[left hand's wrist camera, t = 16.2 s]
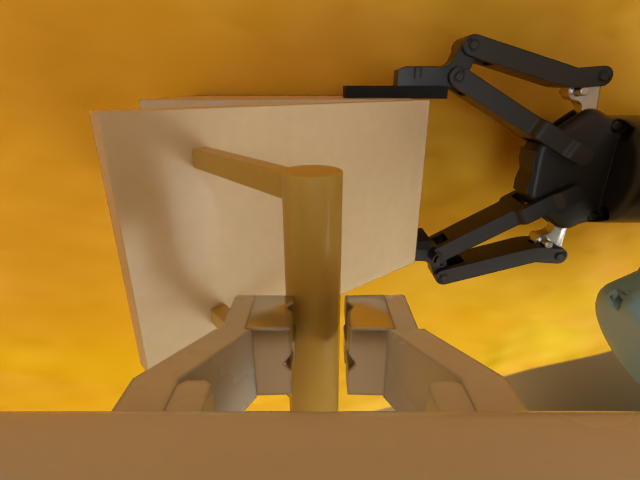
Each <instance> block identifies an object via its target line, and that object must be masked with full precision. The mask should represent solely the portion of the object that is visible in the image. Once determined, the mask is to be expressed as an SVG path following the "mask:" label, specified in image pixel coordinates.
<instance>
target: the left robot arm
mask: <svg viewBox="0 0 640 480" xmlns="http://www.w3.org/2000/svg"><path fill="white" fill-rule="evenodd" d="M295 314H296V305H295V296H287V295H236V296H235V297H234V300H233V302H232V305H231V307H230V310H229V312H228V314H227V317H226V319H225V322H224V324H223V327H222V329H215V330H213V331H212V332H210V333H208V334H207V335H205V336H203V337H202V338H200V339H198V340H197V341H195V342H193V343H192V344H190V345H188V346H187V347H185V348H183V349H182V350H180V351H178V352H177V353H175V354H173V355H172V356H170V357H168V358H167V359H165V360H163V361H162V362H160V363H158V364H157V365H155V366H153V367H152V368H150V369H148V370H147V371H145V372H143V373H142V374H140V375H138V376H137V377H135V378H133V379H132V381H131V382H130V384H129V385H128V387H127V388H126V390H125V391H124V393H123V394H122V396H121V398H120V399H119V401H118V402H117V404H116V405H115V407H114V408H113V410H112V411H0V480H640V411H528V410H527V409H526V407H525V405H524V404H523V402H522V401H521V399H520V398H519V396H518V395H517V393H516V391H515V390H514V388H513V387H512V385H511V384H510V382H509V381H508V379H506V378H505V377H503V376H501V375H500V374H498V373H496V372H495V371H493V370H491V369H490V368H488V367H486V366H485V365H483V364H481V363H480V362H478V361H476V360H475V359H473V358H471V357H470V356H468V355H466V354H465V353H463V352H461V351H460V350H458V349H456V348H455V347H453V346H452V345H450V344H448V343H447V342H445V341H443V340H442V339H440V338H438V337H437V336H435V335H433V334H432V333H430V332H428V331H427V330H425V329H418V327H417V324H416V322H415V320H414V317H413V315H412V312H411V310H410V308H409V305H408V303H407V301H406V298H405V296H404V295H402V294H401V295H359V296H345V302H344V315H345V325H344V360H345V363H346V382H347V392H348V394H355V395H384V396H383V397H384V398H385V399H386V400H387V401H388V403H389V404H390V405H391V406H392V407H393V408H394V409H395V410H396V411H244V410H245V409H246V408H247V407H248V406H249V405H250V404H251V403H252V402H253V400H254V399H255V398H256V395H284V394H292V391H293V381H294V363H295V359H296V325H295Z"/></svg>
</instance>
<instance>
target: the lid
mask: <svg viewBox="0 0 640 480" xmlns="http://www.w3.org/2000/svg"><path fill="white" fill-rule="evenodd" d="M429 107H430V100H387V101H357V102H327V103H297V104H267V105H237V106H207V107H177V108H147V109H117V110H90V111H89V114H90V119H91V124H92V129H93V134H94V139H95V144H96V148H97V153H98V158H99V163H100V168H101V173H102V177H103V182H104V187H105V192H106V197H107V202H108V207H109V211H110V216H111V221H112V226H113V231H114V236H115V241H116V245H117V250H118V255H119V260H120V265H121V270H122V274H123V279H124V284H125V289H126V294H127V299H128V304H129V308H130V313H131V318H132V323H133V328H134V333H135V338H136V342H137V347H138V352H139V357H140V362H141V365H142V366H143V368H144V369H145V371H147V370H148V369H150V368H152V367H153V366H155V365H157V364H158V363H160V362H162V361H163V360H165V359H167V358H168V357H170V356H172V355H173V354H175V353H177V352H178V351H180V350H182V349H183V348H185V347H187V346H188V345H190V344H192V343H193V342H195V341H197V340H198V339H200V338H202V337H203V336H205V335H207V334H208V333H210V332H212V331H213V330H215V329H222V327H223V324H224V322H225V319H226V317H227V314H228V312H229V310H230V307H231V305H232V302H233V300H234V297H235V296H236V295H287V296H295V305H296V314H295V325H296V359H295V363H294V381H293V391H292V394H286V395H287V396H289V397H290V411H338V391H339V342H340V294H343V293H345V292H347V291H350V290H352V289H354V288H357V287H359V286H361V285H363V284H366V283H368V282H370V281H373V280H375V279H377V278H380V277H382V276H384V275H386V274H389V273H391V272H393V271H396V270H398V269H400V268H403V267H405V266H407V265H409V264H412V263H414V262H415V253H416V243H417V232H418V222H419V211H420V201H421V190H422V180H423V170H424V159H425V149H426V138H427V128H428V117H429Z"/></svg>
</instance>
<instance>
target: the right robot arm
mask: <svg viewBox="0 0 640 480" xmlns="http://www.w3.org/2000/svg"><path fill="white" fill-rule="evenodd" d="M473 63H474V64H477V65H480V66H483V67H486V68H489V69H493V70H496V71H499V72H502V73H505V74H508V75H511V76H514V77H517V78H520V79H523V80H526V81H530V82H533V83H536V84H539V85H542V86H546V87H552V88H560V90H559V93H560V94H561V96H562V98H563V99H565V100H570V101H571V102H572V103H573V105H574V110H572V111H570V112H568V113H567V114H565V115H564V116H562V117H561V118H559V119H558V120H556V121H555V122H553V123H550V122H548V121H546V120H544V119H541V118H539V117H538V116H536V115H535V114H533V113H532V112H530V111H529V110H527V109H526V108H524V107H523V106H521V105H520V104H518V103H517V102H515V101H514V100H512V99H511V98H510V97H508V96H507V95H505V94H504V93H502V92H501V91H499V90H498V89H496V88H495V87H493V86H492V85H490V84H489V83H487V82H486V81H484V80H483V79H481V78H480V77H478V76H477V75H475V74H474V73H472V72H471V71H469V70H470V68H471V66H472V64H473ZM612 77H613V71H612V68H610V67H609V66H595V67H582V68H577V67H574V66H571V65H568V64H565V63H562V62H559V61H556V60H553V59H550V58H547V57H544V56H541V55H538V54H535V53H532V52H529V51H526V50H523V49H520V48H517V47H514V46H511V45H508V44H505V43H502V42H499V41H496V40H493V39H490V38H487V37H484V36H481V35H478V34H473V35H470V36H466V37H463V38H461V39H458V40H456V41H455V42H454V44H453V45H452V52H451V54H450V57H449V59H448V61H447V62H446V63H445V64H444V65H443V66H441V67H430V66H422V67H421V66H416V67H415V66H406V67H402V68H400V69H397V70H395V71H394V83H393V86H343V97H344V98H411V99H447V93H448V90H450V91H451V92H453V93H454V94H456V95H458V96H459V97H461V98H462V99H464V100H465V101H467V102H468V103H470V104H471V105H473V106H474V107H476V108H478V109H479V110H481V111H482V112H484V113H485V114H487V115H488V116H490V117H491V118H493V119H494V120H496V121H497V122H499V123H501V124H502V125H504V126H505V127H507V128H508V129H510V130H511V131H512V132H513V133H514V134H515V135H517V136H518V137H520V138H522V139H523V140H525V141H526V144H525V146H524V147H521V149H520V154H519V164H520V168H519V171H518V173H517V175H516V177H515V181H514V187H513V188H514V189H516V190H515V191H513V192H511V193H509V194H507V195H505V196H503V197H501V198H500V201H499V202H497V203H495V204H493V205H491V206H489V207H487V208H485V209H483V210H481V211H479V212H477V213H475V214H473V215H471V216H469V217H467V218H465V219H463V220H461V221H459V222H457V223H455V224H453V225H451V226H449V227H447V228H445V229H443V230H441V231H439V232H437V233H435V234H433V235H432V236H430V237H428V236H427V234H426V233H425V232H424V230H423V229H422V228H418V232H417V243H416V253H415V261H426V262H428V268H429V270H430V271H431V273H432V275H433V276H434V278H435V279H436V281H437V282H438V283H439V284H448V283H452V282H456V281H460V280H464V279H468V278H472V277H476V276H480V275H484V274H488V273H493V272H497V271H501V270H505V269H509V268H513V267H517V266H521V265H525V264H529V263H533V262H543V263H561V262H563V261H564V260H565V259H566V258H567V252H566V251H565V250H564V249H563V248H561V246H562V243H563V240H564V236H565V233H566V230H567V228H570V227H573V226H575V225H577V224H580V223H583V222H640V116H607V115H605V114H603V113H602V112H601V111H599V110H597V105H598V99H599V93H600V88H601V86H604V85H606V84H608V83H609V82H610V81H611V79H612ZM541 217H542V218H544V219H545V220H546V221H547V222H548V224H547V226H546V227H545V228H544V229H542V230H537V231H531V232H530V234H529V236H521V237H515V238H510V239H506V240H502V241H498V242H494V243H490V244H486V245H482V246H479V247H475V248H472V247H474V246H476V245H478V244H480V243H482V242H484V241H486V240H488V239H490V238H492V237H494V236H496V235H498V234H500V233H503V232H505V231H507V230H509V229H511V228H513V227H515V226H517V225H520V224H529V223H531V222H533V221H535V220H537V219H539V218H541ZM470 248H471V249H470ZM595 308H596V315H597V319H598V322H599V325H600V328H601V330H602V333H603V335H604V337H605V339H606V341H607V342H608V344H609V346H610V347H611V349H612V351H613V352H614V354H615V355H616V357H617V358H618V360H619V361H620V363H621V364H622V365H623V367H624V368H625V369H626V370H627V372H628V373H629V374H630V375H631V376H632V378H633V379H634V380H635V381H636V382H637V383H638V384H639V385H640V268H639V269H638V270H637V271H635V272H633V273H631V274H629V275H626V276H624V277H622V278H620V279H617V280H615V281H613V282H610V283H608V284H607V285H605V286H604V287H603V288H602V289H601V290H600V291H599V293H598V296H597V299H596V303H595Z"/></svg>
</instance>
